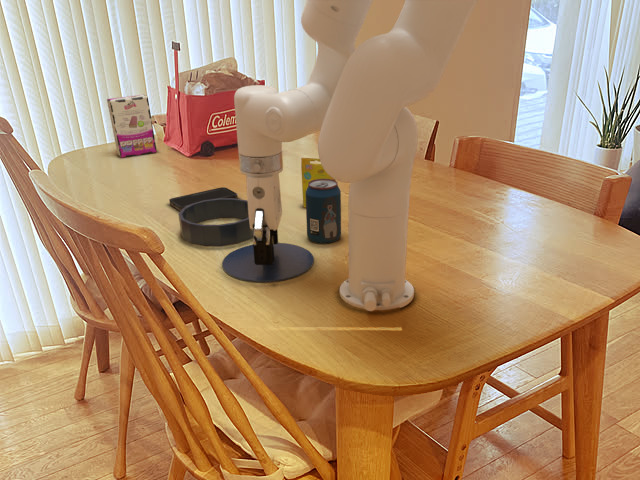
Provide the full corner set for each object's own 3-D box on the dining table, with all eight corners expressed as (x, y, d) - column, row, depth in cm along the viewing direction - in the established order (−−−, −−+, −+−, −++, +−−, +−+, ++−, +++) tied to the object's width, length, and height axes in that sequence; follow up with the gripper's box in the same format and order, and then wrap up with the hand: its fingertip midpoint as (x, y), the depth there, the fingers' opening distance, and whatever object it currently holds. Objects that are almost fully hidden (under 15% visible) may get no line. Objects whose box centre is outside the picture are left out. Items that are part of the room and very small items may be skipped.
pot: (254, 248, 126) (252, 225, 123) (173, 248, 127) (170, 225, 124) (264, 219, 140) (263, 198, 137) (192, 219, 141) (189, 198, 138)
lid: (311, 285, 111) (310, 254, 108) (214, 285, 112) (210, 254, 109) (316, 247, 126) (315, 218, 123) (231, 247, 127) (228, 218, 124)
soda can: (319, 231, 133) (318, 175, 127) (347, 238, 129) (347, 181, 123) (300, 242, 128) (298, 185, 122) (328, 249, 124) (327, 190, 118)
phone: (239, 194, 151) (181, 207, 144) (239, 199, 152) (181, 212, 144) (224, 186, 157) (167, 198, 150) (224, 190, 157) (168, 203, 150)
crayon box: (336, 206, 146) (336, 156, 140) (332, 210, 144) (331, 159, 138) (307, 203, 148) (305, 154, 142) (302, 207, 146) (300, 157, 140)
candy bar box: (152, 149, 195) (144, 93, 187) (157, 152, 191) (148, 96, 183) (116, 154, 190) (106, 98, 182) (120, 158, 186) (109, 100, 178)
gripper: (277, 177, 101) (281, 274, 110) (287, 148, 116) (291, 235, 125) (230, 177, 102) (239, 273, 110) (247, 148, 117) (253, 235, 125)
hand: (266, 253), depth 118 cm, fingers open, 8 cm apart
